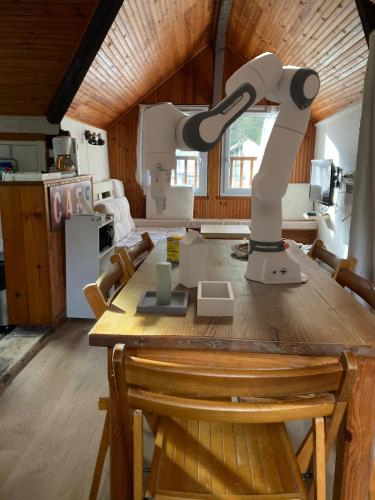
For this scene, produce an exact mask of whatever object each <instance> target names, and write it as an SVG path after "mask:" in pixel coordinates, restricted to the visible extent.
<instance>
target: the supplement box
mask: <svg viewBox="0 0 375 500" xmlns="http://www.w3.org/2000/svg"><path fill="white" fill-rule="evenodd" d="M184 236H185V235H178V234H170V235H168V236H166V262H170V263H171V264H178V265H179V241H180V240H181V239H182V238H183V237H184Z"/></svg>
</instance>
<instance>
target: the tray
mask: <svg viewBox="0 0 375 500" xmlns="http://www.w3.org/2000/svg"><path fill="white" fill-rule="evenodd" d="M188 304H189V291H188V290H171V304H169V305H158V304H157V303H156V290H155V289H154V290H153V289H149V290H147V289H146V290H145V289H143V291H142V294H141V296H140V298H139V300H138V302H137V305H136V313H137V314H161V315H162V314H163V315H165V314H167V315H168V314H169V315H187V314H188V313H187V312H188Z"/></svg>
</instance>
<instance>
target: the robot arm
mask: <svg viewBox="0 0 375 500" xmlns="http://www.w3.org/2000/svg"><path fill="white" fill-rule="evenodd" d="M320 86H321V80H320V76H319V74H318V72H317V71H316V70H315V69H313V68H310V67H307V66H303V67H302V66H295V65H286V66H284V65H283V62H282V60H281V58H280V57H279V56H278V55H276V54H274V53H272V52H265V53H262V54H259V55H258V56H256V57H254V58H253V59H251V60H250V61H248V62H247V63H245V64H243V65H242V66H241V67H240V68H238V69H237V70H236V71H234V73H233V74H232V75H231V76H230V77H229V78H228V79H227V80H226V83H225V94H226V97H224V98H223V99H222V100H221V101H220V102H219V103H217V105H215V106H214V107H213V108H212V109H210V110H206V111H202V112H198V113H196V114H195V113H194V114H192V115H189V114H186V113H184V112H182V111H181V110H179V109H178V108H177V107H175V106H174V104H173V103H172V102H168V101H165V102H158V103H153V104H151V105H148V106H147V107H146V108H145V111H144V115H143V139H144V142H145V145H144V152H143V153H144V154H143V156H144V157H143V158H144V159H143V160H144V170H146V171H148V172H149V176H150V198H151V200H154V204H155V205H154V206H155V209H156V212H155V213H156V215H157V216H162V215H163V214H164V211H166V209H167V198H168V195H169V194H170V191H171V182H172V171H173V170H176V169H177V152H176V151H177V150H179V151H182V152H198V153H207V152H211V151H212V150H214V149H215V148H216V147H217V146H218V144H219V143H220V142H221V140H222V138H223V135H225V132H226V131H227V130H228V129H229V128H230V127H231V125H232V124H234V123H235V122H236V121H237V120H238V119H239V118H240V117H241V116H242V115H243V114H245V112H246V111H248V110H249V109H250V108H252V107H253V106H254V105H256V104H258V103H259V102H260V101H261V100H264V101H267V102H274V103H277V104H279V111H278V114H277V116H276V117H275V120H274V121H273V122H274V123H273V126H272V129H271V131H270V134H269V137H268V139H267V143H266V144H265V148H264V151H263V155H262V158H261V163H260V164H259V165H260V166H259V169H258V172H257V173H256V174H255V175H254V176H253V178H252V180H251V185H250V186H251V190H250V191H251V195H250V196H251V197H250V201H251V202H250V203H251V204H250V205H251V206H250V207H251V208H250V212H251V214H250V215H251V216H250V237H249V239H248V242H247V243H248V253H249V258H248V259H247V264H246V268H245V271H244V275H243V276H244V277H245V278H246V279H248V280H252V281H253V282H254V281H255V282H258V283H262V284H264V285H277V284H278V285H279V284H280V285H282V284H301V282H305V283H306V282H308V277H307V275H306V274H305V273H304V272H302V270H301V269H302V268H301V264H300V262H299V260H298V259H297V258H296V257H295V256H293V255H292V254H291V253H290V252H289V251H288V249H290V247H291V246H290V244H289V243H288V241H284V240H283V239H282V233H283V231H282V230H283V204H282V200H283V197H285V196H286V194H287V190H288V187H289V184H290V180H291V177H292V174H293V171H294V167H295V163H296V159H297V156H298V153H299V151H300V148H301V146H302V142H303V141H304V138H305V135H306V132H307V129H308V126H309V122H310V119H311V113H312V112H311V111H312V104H313V103H314V101H315V99H316V97H317V96H318V93H319V91H320Z"/></svg>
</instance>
